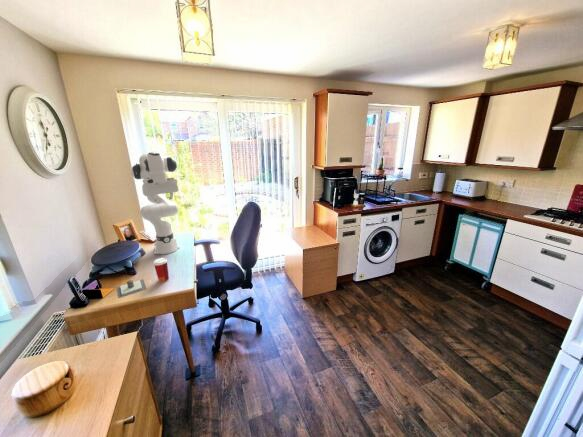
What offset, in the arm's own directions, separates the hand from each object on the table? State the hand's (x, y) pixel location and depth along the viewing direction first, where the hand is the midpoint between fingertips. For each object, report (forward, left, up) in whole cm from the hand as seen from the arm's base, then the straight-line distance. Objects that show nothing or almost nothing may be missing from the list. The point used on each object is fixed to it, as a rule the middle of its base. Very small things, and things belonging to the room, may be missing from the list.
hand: (163, 200), depth 153 cm
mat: (+13, -27, -47) cm, 56 cm away
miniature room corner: (+8, -42, -48) cm, 64 cm away
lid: (+13, -27, -47) cm, 56 cm away
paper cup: (+15, -10, -48) cm, 51 cm away
